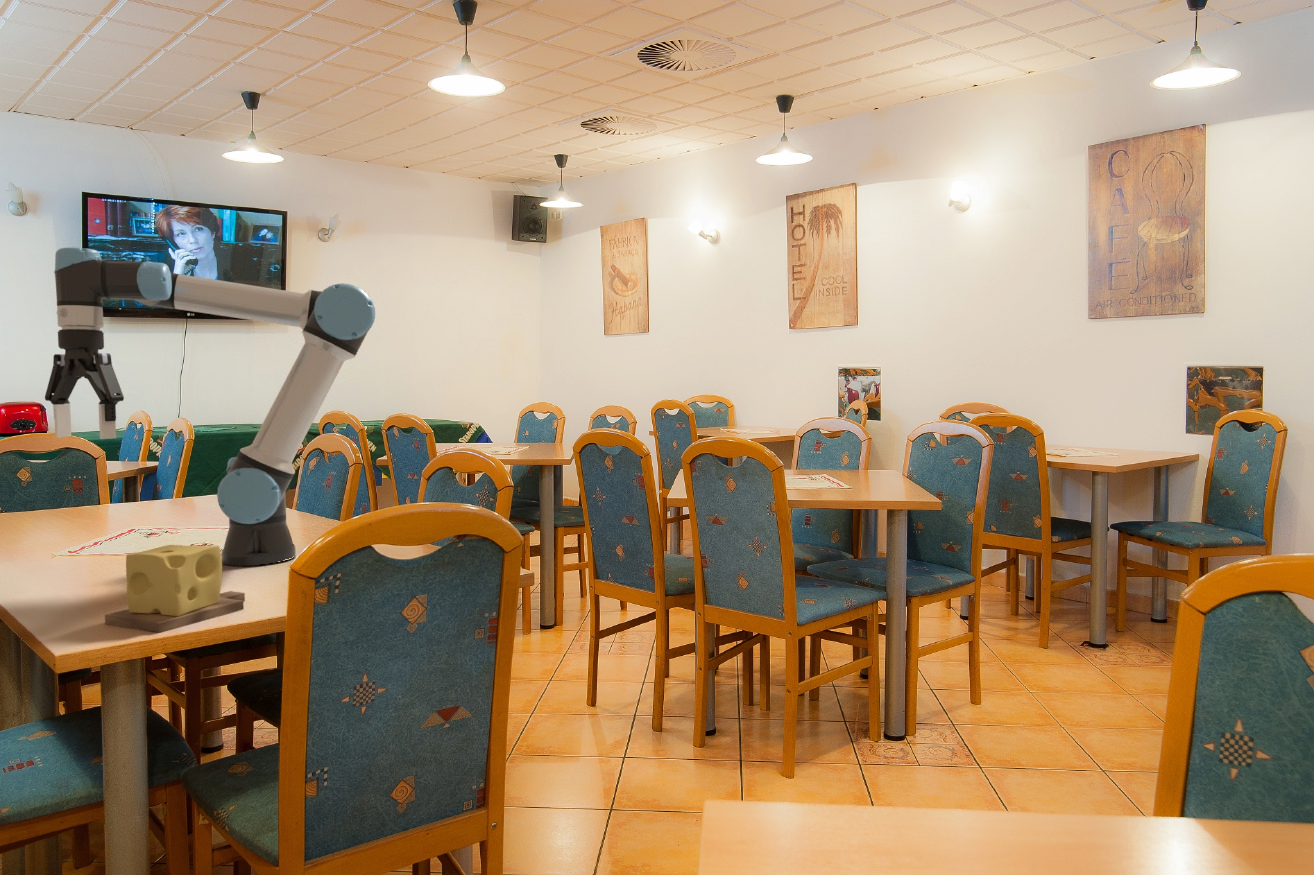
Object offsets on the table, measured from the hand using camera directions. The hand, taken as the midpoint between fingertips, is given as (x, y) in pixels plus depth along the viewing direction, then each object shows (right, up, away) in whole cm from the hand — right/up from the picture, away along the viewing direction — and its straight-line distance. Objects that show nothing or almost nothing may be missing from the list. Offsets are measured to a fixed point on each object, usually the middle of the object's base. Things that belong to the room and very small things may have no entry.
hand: (85, 438), depth 175 cm
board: (+32, -30, -22) cm, 49 cm away
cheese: (+31, -29, -25) cm, 49 cm away
